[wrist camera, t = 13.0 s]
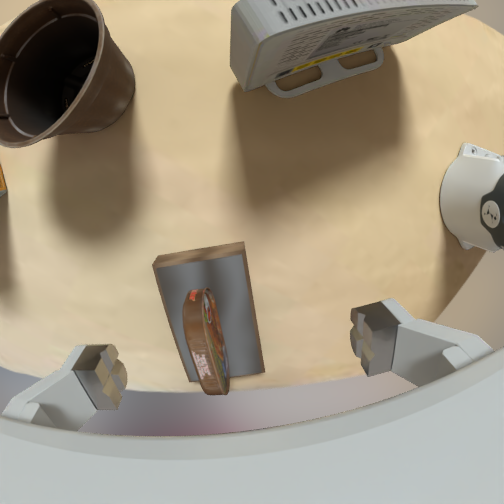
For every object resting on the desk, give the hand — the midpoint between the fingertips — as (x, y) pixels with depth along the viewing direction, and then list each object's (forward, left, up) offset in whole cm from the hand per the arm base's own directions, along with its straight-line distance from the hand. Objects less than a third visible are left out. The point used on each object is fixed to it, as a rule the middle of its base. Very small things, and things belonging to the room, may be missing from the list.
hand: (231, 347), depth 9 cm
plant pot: (+16, -19, -31) cm, 40 cm away
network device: (-15, -19, -31) cm, 39 cm away
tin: (+5, +16, -27) cm, 32 cm away
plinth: (+5, +16, -31) cm, 35 cm away
